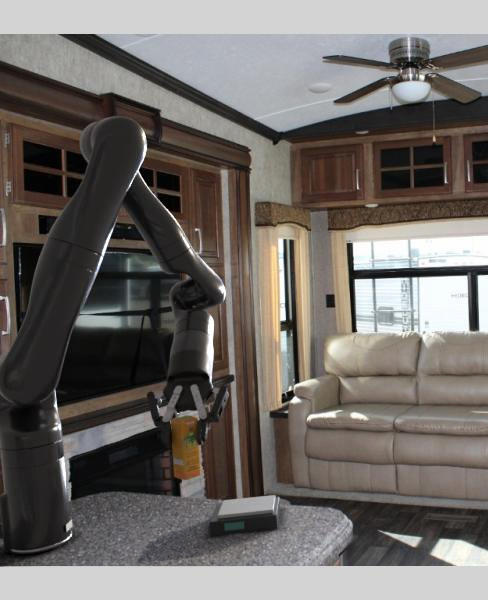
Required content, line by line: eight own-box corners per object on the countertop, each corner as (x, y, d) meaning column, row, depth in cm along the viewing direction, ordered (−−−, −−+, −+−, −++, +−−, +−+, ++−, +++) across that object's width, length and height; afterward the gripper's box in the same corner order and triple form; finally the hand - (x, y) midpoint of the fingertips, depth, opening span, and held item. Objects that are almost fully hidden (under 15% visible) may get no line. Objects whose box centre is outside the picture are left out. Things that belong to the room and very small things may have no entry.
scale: (210, 536, 111) (208, 519, 111) (218, 516, 120) (216, 500, 120) (277, 529, 113) (276, 511, 113) (280, 509, 122) (278, 493, 122)
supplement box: (186, 481, 110) (180, 421, 109) (173, 478, 112) (168, 419, 111) (203, 475, 113) (198, 416, 112) (190, 472, 115) (185, 414, 114)
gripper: (145, 351, 118) (133, 436, 106) (228, 345, 119) (225, 428, 108) (154, 376, 123) (143, 459, 112) (234, 370, 125) (231, 451, 114)
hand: (183, 443), depth 110 cm, fingers closed on supplement box, 4 cm apart
